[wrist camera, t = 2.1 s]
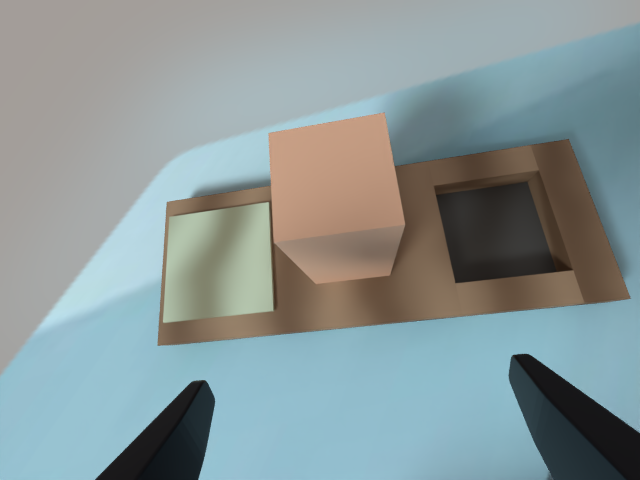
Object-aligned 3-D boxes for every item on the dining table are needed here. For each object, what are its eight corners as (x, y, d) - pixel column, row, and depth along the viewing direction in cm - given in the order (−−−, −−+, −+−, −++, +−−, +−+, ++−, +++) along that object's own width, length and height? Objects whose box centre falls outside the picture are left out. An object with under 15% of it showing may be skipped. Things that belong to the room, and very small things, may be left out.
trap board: (553, 154, 24) (571, 136, 22) (606, 302, 20) (634, 298, 18) (180, 211, 27) (164, 200, 25) (174, 345, 24) (154, 345, 22)
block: (379, 206, 23) (384, 112, 13) (389, 275, 21) (405, 224, 12) (310, 216, 23) (268, 132, 14) (316, 284, 22) (273, 242, 12)
